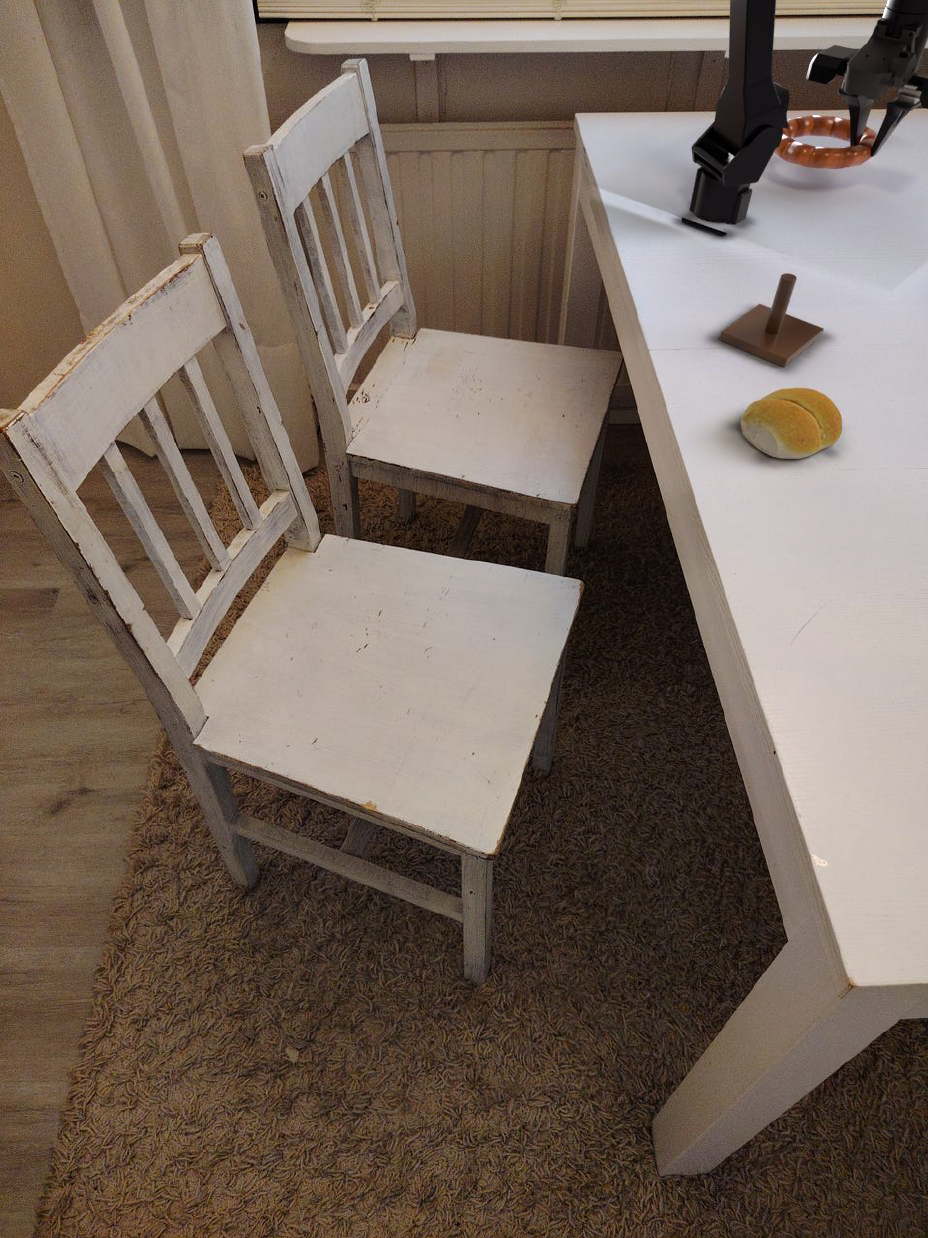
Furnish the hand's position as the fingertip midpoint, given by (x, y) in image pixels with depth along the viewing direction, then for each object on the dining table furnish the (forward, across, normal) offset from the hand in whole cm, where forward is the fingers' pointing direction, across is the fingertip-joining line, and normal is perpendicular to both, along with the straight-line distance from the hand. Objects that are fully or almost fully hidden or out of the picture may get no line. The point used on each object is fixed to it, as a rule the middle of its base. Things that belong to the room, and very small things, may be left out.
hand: (862, 152), depth 105 cm
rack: (+6, +10, -38) cm, 40 cm away
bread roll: (+6, +20, -52) cm, 56 cm away
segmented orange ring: (0, -6, 0) cm, 6 cm away
